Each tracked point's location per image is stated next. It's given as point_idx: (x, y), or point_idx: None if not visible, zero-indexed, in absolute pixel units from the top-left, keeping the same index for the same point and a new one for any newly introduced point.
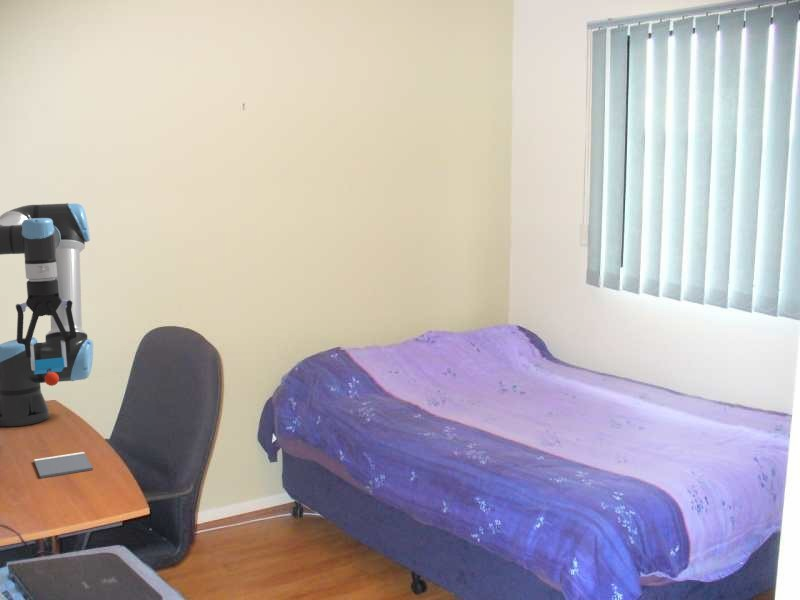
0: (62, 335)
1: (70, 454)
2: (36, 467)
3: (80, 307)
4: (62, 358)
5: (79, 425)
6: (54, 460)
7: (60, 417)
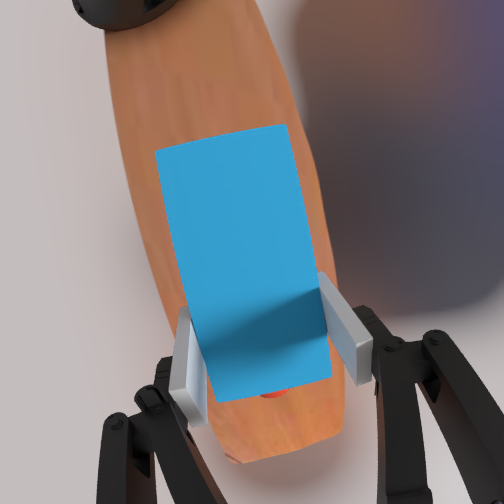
0: (377, 405)
1: None
2: None
3: None
4: (326, 376)
5: (266, 49)
6: None
7: None
